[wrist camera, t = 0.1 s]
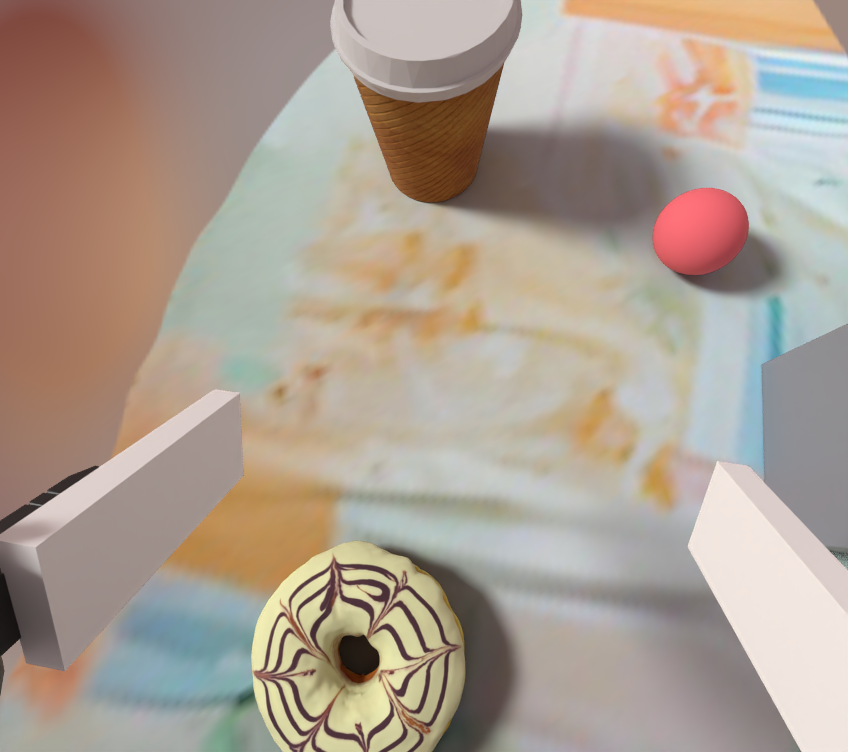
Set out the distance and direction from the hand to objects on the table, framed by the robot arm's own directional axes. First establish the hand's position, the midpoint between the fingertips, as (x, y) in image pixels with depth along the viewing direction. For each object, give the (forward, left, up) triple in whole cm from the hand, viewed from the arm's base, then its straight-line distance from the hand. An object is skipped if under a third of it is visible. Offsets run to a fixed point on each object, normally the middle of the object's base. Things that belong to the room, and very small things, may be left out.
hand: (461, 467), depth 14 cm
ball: (+17, -12, -13) cm, 25 cm away
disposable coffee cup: (+22, +5, -16) cm, 27 cm away
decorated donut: (-9, +4, -16) cm, 18 cm away
